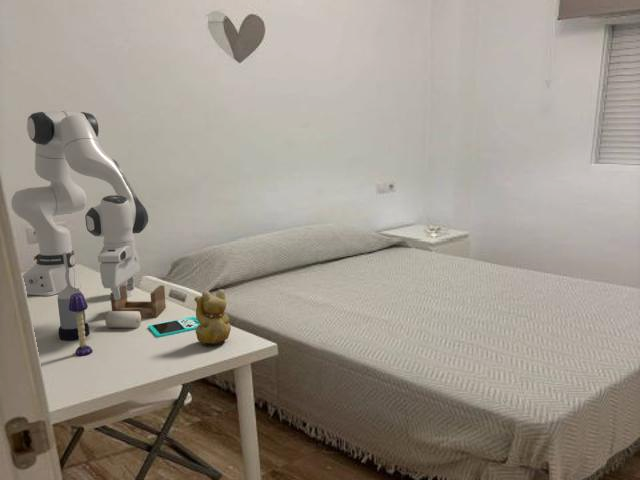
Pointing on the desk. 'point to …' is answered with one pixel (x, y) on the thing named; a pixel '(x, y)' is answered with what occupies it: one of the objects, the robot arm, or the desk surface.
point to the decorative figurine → (212, 318)
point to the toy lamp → (80, 322)
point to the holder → (141, 303)
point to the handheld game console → (174, 327)
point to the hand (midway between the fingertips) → (124, 294)
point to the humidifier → (68, 318)
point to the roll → (123, 319)
